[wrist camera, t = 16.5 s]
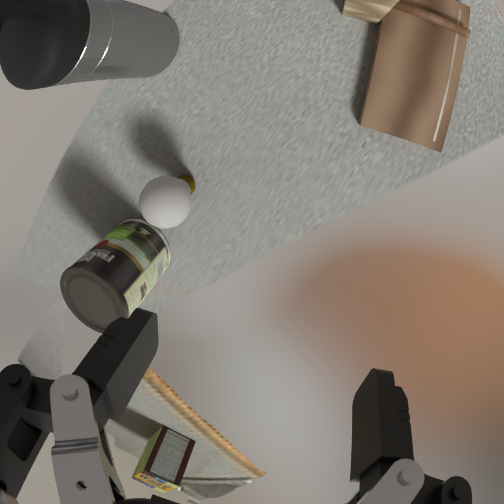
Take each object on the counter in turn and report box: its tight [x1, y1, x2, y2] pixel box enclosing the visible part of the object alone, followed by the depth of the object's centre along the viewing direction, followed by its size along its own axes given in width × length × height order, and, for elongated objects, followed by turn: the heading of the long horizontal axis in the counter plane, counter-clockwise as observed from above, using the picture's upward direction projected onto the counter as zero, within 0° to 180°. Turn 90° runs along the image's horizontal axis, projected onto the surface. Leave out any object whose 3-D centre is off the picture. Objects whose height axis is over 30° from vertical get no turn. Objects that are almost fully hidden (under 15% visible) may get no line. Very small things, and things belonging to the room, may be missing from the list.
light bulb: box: [139, 176, 195, 229], centre depth 37 cm, size 6×6×10 cm
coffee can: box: [60, 219, 171, 333], centre depth 42 cm, size 10×10×14 cm
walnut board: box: [358, 0, 470, 152], centre depth 27 cm, size 10×19×2 cm, turn 171°
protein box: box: [132, 425, 196, 493], centre depth 74 cm, size 10×15×16 cm
